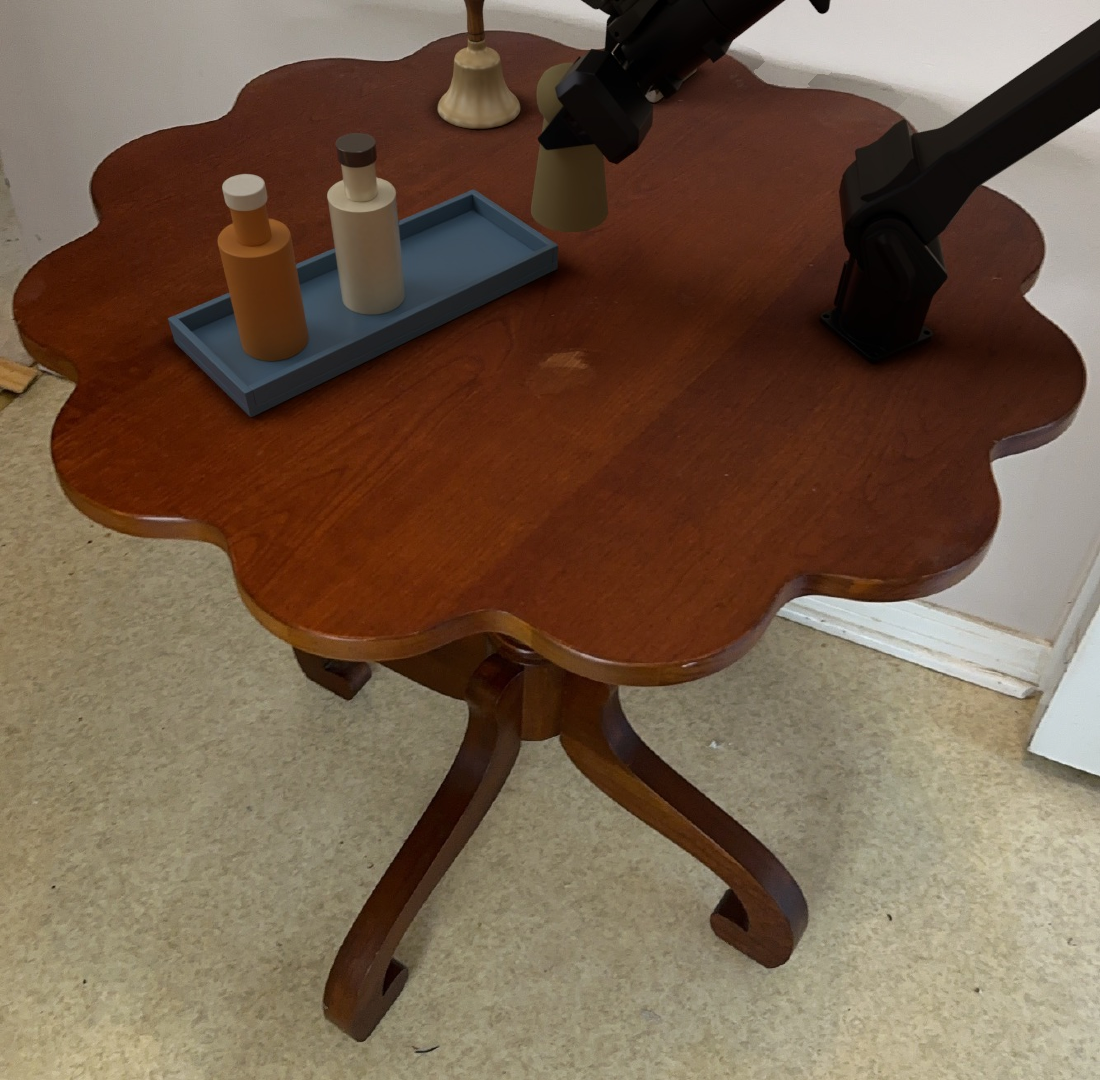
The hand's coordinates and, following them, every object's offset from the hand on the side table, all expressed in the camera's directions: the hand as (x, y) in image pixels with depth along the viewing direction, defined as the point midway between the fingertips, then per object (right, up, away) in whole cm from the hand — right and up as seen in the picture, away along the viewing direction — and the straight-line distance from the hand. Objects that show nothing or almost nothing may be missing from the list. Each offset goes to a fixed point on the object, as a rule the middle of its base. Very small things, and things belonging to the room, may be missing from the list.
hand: (554, 127), depth 80 cm
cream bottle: (-14, -11, +7) cm, 19 cm away
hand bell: (-7, +13, +29) cm, 33 cm away
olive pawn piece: (+1, -5, +5) cm, 7 cm away
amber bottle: (-21, -15, +2) cm, 26 cm away
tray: (-14, -12, +7) cm, 20 cm away
